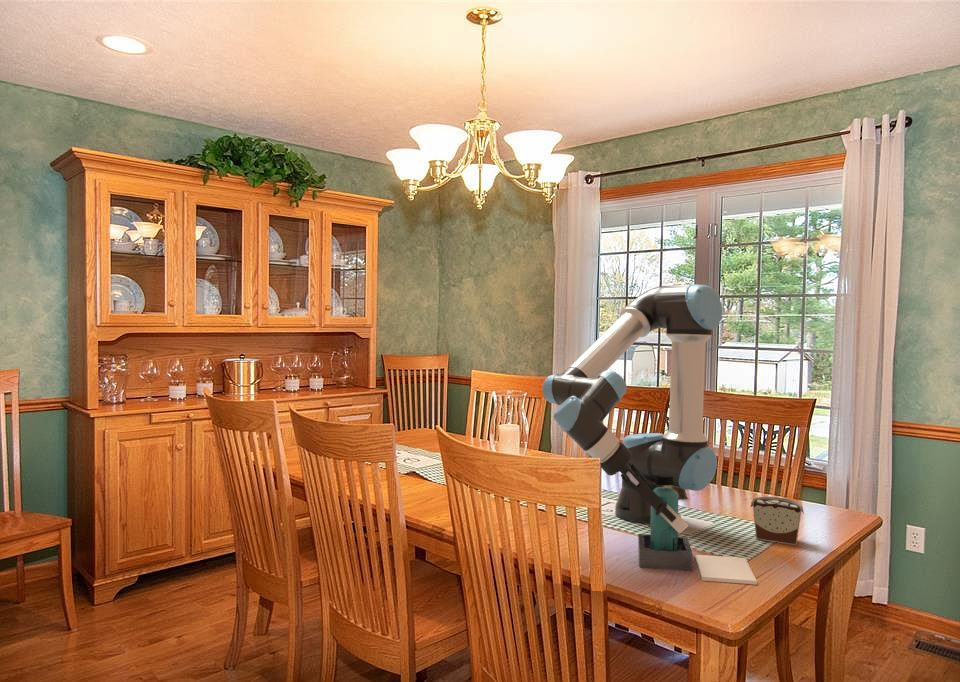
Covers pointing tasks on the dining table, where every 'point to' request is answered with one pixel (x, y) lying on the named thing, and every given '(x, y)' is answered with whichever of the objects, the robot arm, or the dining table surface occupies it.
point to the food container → (777, 519)
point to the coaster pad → (725, 569)
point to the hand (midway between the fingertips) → (680, 524)
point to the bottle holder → (664, 555)
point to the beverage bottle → (660, 528)
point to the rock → (678, 491)
